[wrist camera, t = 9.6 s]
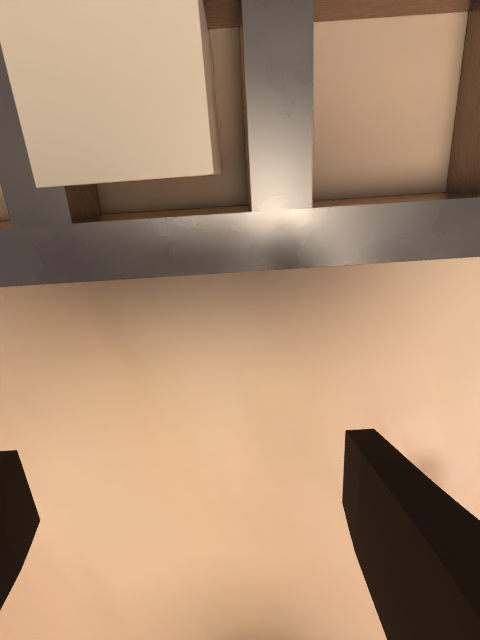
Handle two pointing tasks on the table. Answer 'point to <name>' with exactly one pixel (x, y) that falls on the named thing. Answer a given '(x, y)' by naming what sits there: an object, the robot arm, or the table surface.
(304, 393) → the table surface
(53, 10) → the peg
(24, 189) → the grey metal slotted frame
